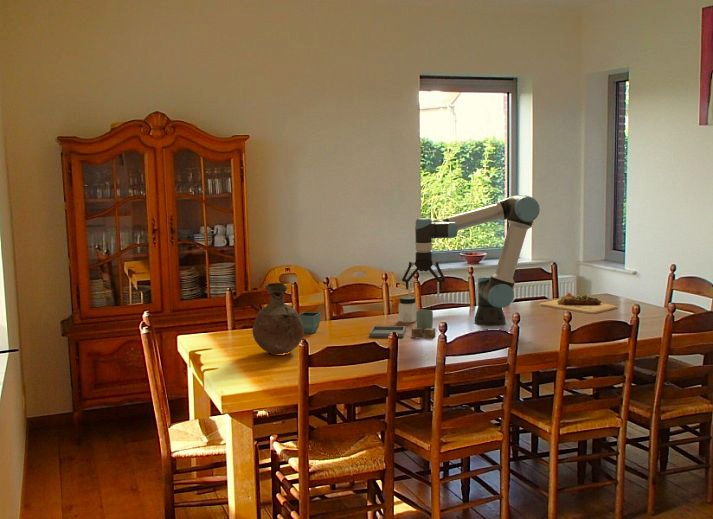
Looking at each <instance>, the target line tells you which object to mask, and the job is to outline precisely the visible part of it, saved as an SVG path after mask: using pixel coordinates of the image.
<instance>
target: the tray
mask: <svg viewBox="0 0 713 519" xmlns="http://www.w3.org/2000/svg"><path fill="white" fill-rule="evenodd" d="M406 331H407V327H406V326H405V325H403V326H402V325H399V326H398V325H396V326H395V325H394V326H393V325H373V326H372V328H371V329H370V331H369V333H368V337H369V338H373V339H374V338H376V339H377V338H383V339H384V338H386V339H387V338H388V336H389V334H390V333H391V332H396V333H397V334H398V337H399V338H398V339H401V338H402V339H403V338H404V337H405V333H406Z"/></svg>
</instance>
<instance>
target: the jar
mask: <svg viewBox="0 0 713 519" xmlns="http://www.w3.org/2000/svg"><path fill="white" fill-rule="evenodd" d="M398 300H399V302H398V321H399V322H401V323H413V322H416V311H417V302H416V297H415V296H411V295H410V297H408V295H407V296H406V295H405V296H400V297H399V299H398Z"/></svg>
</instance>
